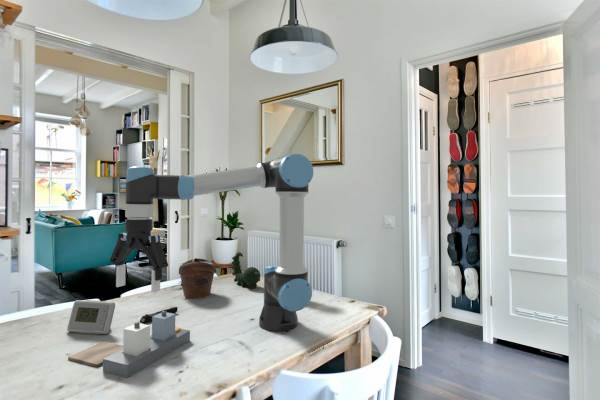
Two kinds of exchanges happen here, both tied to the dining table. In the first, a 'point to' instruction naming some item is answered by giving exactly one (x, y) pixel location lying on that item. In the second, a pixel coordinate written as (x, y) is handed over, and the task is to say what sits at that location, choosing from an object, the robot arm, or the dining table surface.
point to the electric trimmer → (149, 317)
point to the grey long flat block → (144, 355)
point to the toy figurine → (245, 273)
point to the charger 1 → (136, 339)
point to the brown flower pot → (197, 277)
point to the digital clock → (91, 317)
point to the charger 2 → (163, 326)
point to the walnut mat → (96, 353)
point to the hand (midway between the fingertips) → (137, 288)
